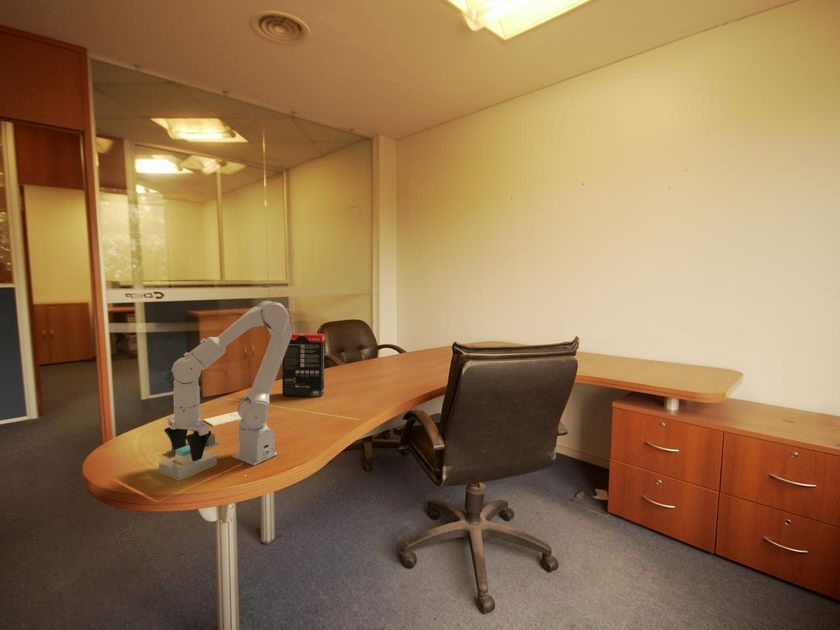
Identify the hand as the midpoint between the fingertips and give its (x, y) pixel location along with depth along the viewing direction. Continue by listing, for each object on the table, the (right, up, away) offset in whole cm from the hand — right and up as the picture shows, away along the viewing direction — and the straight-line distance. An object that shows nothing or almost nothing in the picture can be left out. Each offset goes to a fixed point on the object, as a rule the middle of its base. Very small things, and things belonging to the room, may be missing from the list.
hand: (188, 456), depth 100 cm
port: (0, -4, 0) cm, 4 cm away
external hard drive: (-9, -1, +37) cm, 38 cm away
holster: (-6, -3, +13) cm, 14 cm away
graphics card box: (+9, +1, +69) cm, 70 cm away
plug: (0, -4, 0) cm, 4 cm away
